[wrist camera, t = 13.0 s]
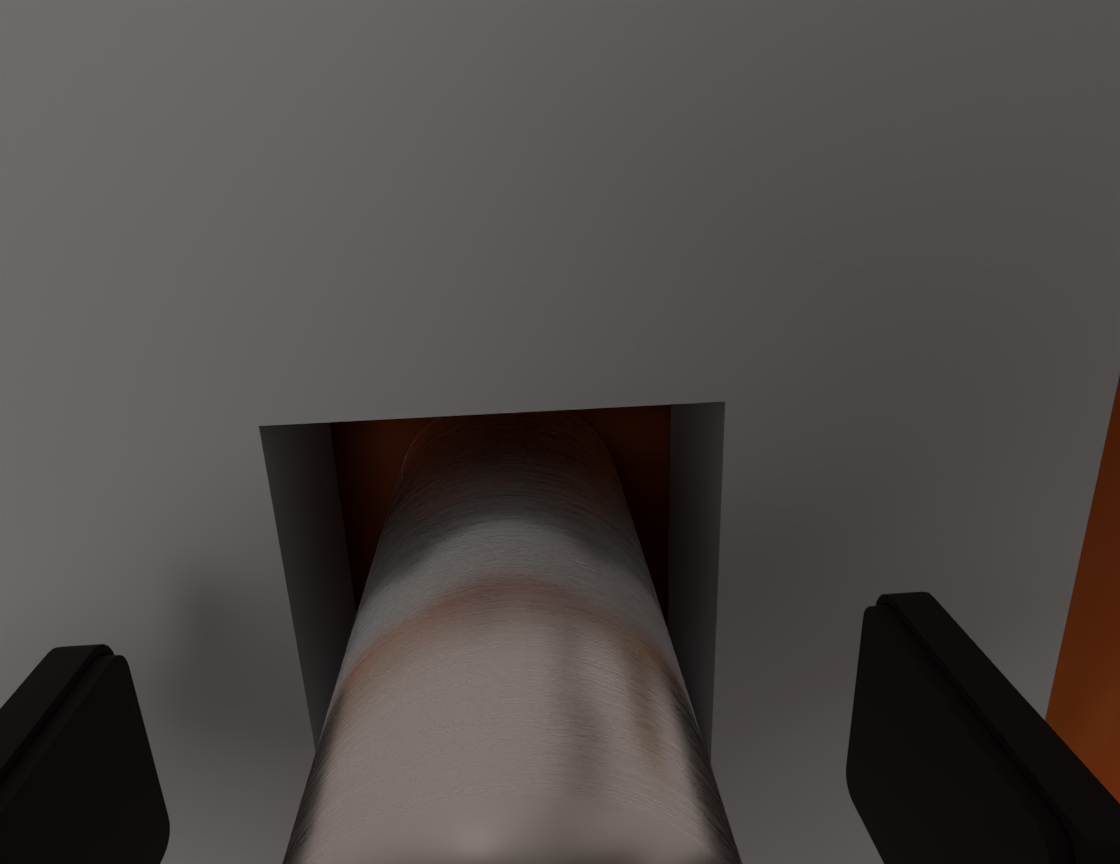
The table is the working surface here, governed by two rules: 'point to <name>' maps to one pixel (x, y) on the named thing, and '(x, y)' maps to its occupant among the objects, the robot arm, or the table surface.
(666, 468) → the table surface
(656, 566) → the table surface
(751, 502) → the socket block
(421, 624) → the peg
